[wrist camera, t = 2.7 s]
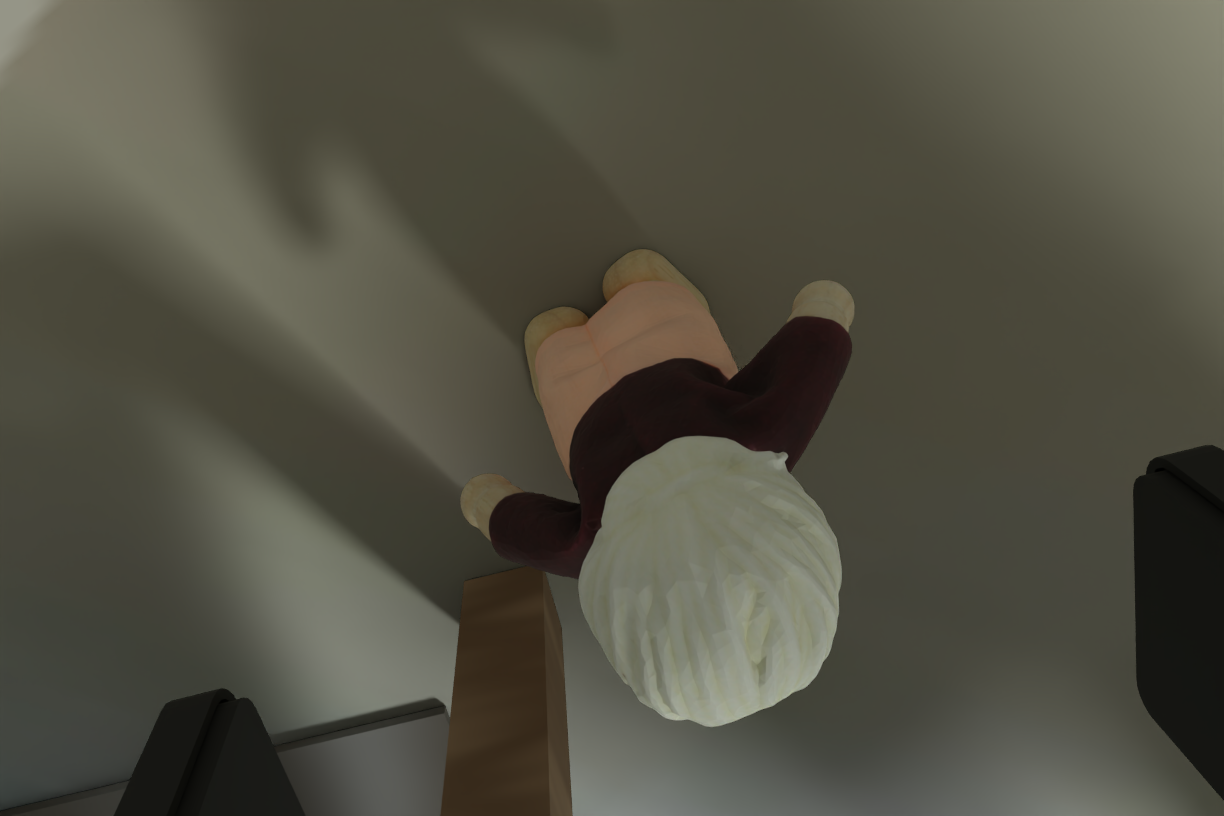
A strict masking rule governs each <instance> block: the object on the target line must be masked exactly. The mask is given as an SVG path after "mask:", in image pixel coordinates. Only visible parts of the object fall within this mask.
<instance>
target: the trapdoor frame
mask: <svg viewBox="0 0 1224 816" xmlns="http://www.w3.org/2000/svg"><path fill="white" fill-rule="evenodd" d="M274 748H275V750H276V753H277V755H278V757H279V759H280V761H281V763H282V766H283V768H284V770H285V772H286V774H287V776H288V778H289V781H290V783H291V785H292V787H293V789H294V791H295V794H296V796H297V798H298V800H299V802H300V804H301V807H302V809H303V811H304V813H305V815H306V816H573V815H572V798H571V780H570V763H569V746H568V729H567V711H566V694H565V677H564V659H563V642H562V628H561V624H560V621H559V617H558V614H557V611H556V607H555V604H554V600H553V597H552V594H551V590H550V587H549V583H548V580H547V577H546V573H545V571H540V570H537V569H534V568H532V567H529V566H526V567H522V568H517V569H513V570H509V571H505V572H501V573H496V574H492V575H488V576H484V577H480V578H475V579H471V580H467V581H464V587H463V597H462V607H461V617H460V626H459V636H458V646H457V656H456V666H455V676H454V686H453V696H452V706H451V716H450V717H449V715H448V712H447V709H446V706H442V707H438V708H434V709H430V710H426V711H421V712H417V713H413V714H409V715H404V716H400V717H396V718H392V719H388V720H383V721H379V722H375V723H371V724H366V725H362V726H358V727H354V728H350V729H345V730H341V731H337V732H333V733H328V734H324V735H320V736H316V737H312V738H307V739H303V740H299V741H295V742H290V743H286V744H282V745H278V746H274ZM128 783H129V781H126V782H122V783H117V784H113V785H109V786H105V787H100V788H96V789H92V790H88V791H84V792H79V793H75V794H71V795H67V796H62V797H58V798H54V799H50V800H46V801H41V802H37V803H33V804H29V805H24V806H20V807H16V808H12V809H8V810H3V811H0V816H114V814H115V811H116V809H117V807H118V805H119V803H120V800H121V798H122V796H123V794H124V792H125V789H126V787H127V785H128Z"/></svg>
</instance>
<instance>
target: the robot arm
mask: <svg viewBox="0 0 1224 816" xmlns="http://www.w3.org/2000/svg"><path fill="white" fill-rule="evenodd" d="M1133 506H1134V562H1135V618H1136V673H1137V686H1138V690H1139V694H1140V696H1141V699H1142V701H1143V704H1144V706H1145V707H1146V709H1147V711H1148V713H1149V714H1150V715H1151V717H1152V718H1153V719H1154V720H1155V722H1156V723H1157V724H1158V725H1159V726H1160V727H1161V728H1162V730H1163V731H1164V732H1165V733H1166V734H1167V735H1168V737H1169V738H1170V739H1171V740H1172V741H1173V742H1174V743H1175V745H1176V746H1177V747H1178V748H1179V749H1180V750H1181V752H1182V753H1183V754H1184V755H1185V756H1186V757H1187V759H1188V760H1189V761H1190V762H1191V763H1192V764H1193V765H1194V767H1195V768H1196V769H1197V770H1198V771H1199V772H1200V774H1201V775H1202V776H1203V777H1204V778H1205V779H1206V780H1207V782H1208V783H1209V784H1210V785H1211V786H1212V787H1213V789H1214V790H1215V791H1216V792H1217V793H1218V794H1219V796H1220V797H1221V798H1222V799H1223V800H1224V451H1223V450H1222V449H1220V448H1218V447H1215V446H1213V445H1205V446H1201V447H1197V448H1193V449H1189V450H1185V451H1181V452H1177V453H1173V454H1169V455H1164V456H1160V457H1156V458H1154V459H1153V460H1152V461H1150V463H1149V465H1148V467H1147V471H1146V475H1143V476H1140V477H1138V478H1137V479H1136V481H1135V483H1134V489H1133ZM114 816H306V815H305V813H304V811H303V809H302V807H301V804H300V802H299V800H298V798H297V796H296V794H295V791H294V789H293V787H292V785H291V783H290V781H289V778H288V776H287V774H286V772H285V770H284V768H283V766H282V763H281V761H280V759H279V757H278V755H277V753H276V750H275V748H274V746H273V744H272V742H271V740H270V738H269V735H268V733H267V731H266V729H265V727H264V725H263V722H262V720H261V718H260V716H259V714H258V712H257V710H256V708H255V706H254V704H253V703H252V701H251V700H249V699H248V698H240V699H236V698H235V697H234V695H233V694H232V693H231V692H230V691H229V690H227V689H223V688H222V689H217V690H213V691H209V692H205V693H201V694H197V695H193V696H189V697H185V698H181V699H177V700H173V701H170V702H169V703H167V704H166V705H165V706H164V708H163V709H162V711H161V713H160V715H159V717H158V719H157V721H156V724H155V726H154V728H153V730H152V732H151V735H150V737H149V739H148V741H147V743H146V746H145V748H144V750H143V752H142V754H141V757H140V759H139V761H138V763H137V765H136V768H135V770H134V772H133V774H132V776H131V778H130V781H129V783H128V785H127V787H126V789H125V792H124V794H123V796H122V798H121V800H120V803H119V805H118V807H117V809H116V811H115V814H114Z"/></svg>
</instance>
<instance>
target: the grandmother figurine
mask: <svg viewBox="0 0 1224 816" xmlns="http://www.w3.org/2000/svg"><path fill="white" fill-rule="evenodd" d="M603 294H604V297H605V299H606V302H607V303H606V304H605V305H604V306H603V307H602V308H601V309H600V310H599V311H598V312H596V313H595V314H594V315H593V316H592V317H591V318H590V319H589V318H588V317H587V316H586V315H585V314H584V313H583V312H581V311H580V310H578V309H575V308H572V307H564V306H563V307H557V308H554V309H551V310H548V311H545V312H543V313H541V314H539V315H537V316H536V317H535V318H534V319H533V320H531V322H530V323H529V325H528V327H527V329H526V332H525V340H524V342H525V349H526V354H527V360H528V364H529V369H530V374H531V379H532V384H533V388H534V392H535V395H536V398H537V400H538V402H539V404H540V405H541V407H542V408H543V410H544V414H545V418H546V420H547V423H548V426H549V429H550V432H551V435H552V437H553V440H554V444H555V447H556V449H557V452H558V454H559V457H560V459H561V461H562V463H563V466H564V468H565V471H566V473H567V475H568V477H569V479H570V480H571V481H573V484H574V486H575V488H576V490H577V492H578V497H579V500H580V504H577V503H572V502H568V501H563V500H560V499H556V498H553V497H549V496H546V495H544V494H535V493H530V492H524V491H523V490H521V489H520V488H518V487H515V486H513V485H512V484H511V483H510V482H509V481H508V480H507V479H505V478H504V477H502V476H500V475H497V474H481V475H478V476H476V477H473V478H472V479H471V480H470V481H469V482H468V483H467V484H466V486H465V487H464V489H463V491H462V494H461V498H460V502H461V509H462V512H463V515H464V517H465V518H466V519H467V521H468V522H469V523H470V524H471V525H473V526H475V527H477V528H478V529H480V530H481V532H482V533H483V534H484V535H485V536H486V537H487V538H488V539H489V540H490V541H491V542H492V545H493V547H494V549H495V550H496V552H497V553H498V554H499V555H500V556H502V557H504V558H506V559H508V560H510V561H512V562H516V563H520V564H523V565H526V566H529V567H532V568H534V569H537V570H540V571H545V572H549V573H552V574H555V575H559V576H564V577H571V578H575V579H579V584H578V591H579V598H580V604H581V608H582V611H583V614H584V617H585V619H586V621H587V622H588V624H589V626H590V628H591V630H592V633H593V635H594V636H595V638H596V639H597V640H598V642H599V643H600V645H601V647H602V649H603V651H604V653H605V655H606V657H607V659H608V660H609V662H610V663H611V665H612V666H613V668H614V669H615V671H616V672H617V673H618V674H619V676H620V678H621V679H622V680H623V682H624V683H625V684H627V685H629V686H631V688H632V690H633V691H634V693H635V695H636V697H637V698H638V700H639V701H640V702H641V703H643V704H644V705H646V706H648V707H650V708H652V709H654V710H655V711H657V712H658V713H659V714H660V715H661V716H663V717H665V718H667V719H671V720H687V719H689V720H692V721H694V722H696V723H699V724H701V725H703V726H707V727H715V726H720V725H724V724H727V723H730V722H734V721H736V720H739V719H741V718H743V717H746V716H748V715H751V714H753V713H755V712H757V711H759V710H761V709H765V708H768V707H771V706H774V705H775V704H776V703H778V702H779V701H781V700H783V699H784V698H786V697H788V696H789V695H790V694H791V693H793V692H796V691H799V690H802V689H804V688H805V687H807V686H808V685H809V684H810V683H811V681H812V680H813V679H814V678H815V677H816V676H817V674H818V672H819V670H820V668H821V666H822V663H823V661H824V660H825V659H826V658H827V656H828V655H829V653H830V650H831V647H832V642H833V638H834V635H835V632H836V629H837V619H838V615H839V600H838V593H839V590H840V587H841V582H842V567H841V561H840V553H839V548H838V543H837V538H836V536H835V535H834V533H833V531H832V530H831V528H830V527H829V525H828V523H827V521H826V518H825V515H824V513H823V511H822V510H821V509H820V508H819V506H818V505H817V504H816V502H815V501H814V500H813V499H812V498H811V497H810V496H808V495H807V494H806V493H805V492H804V489H803V488H802V486H801V485H800V484H799V482H798V481H797V480H795V478H794V477H793V476H792V475H791V474H790V472H791V470H792V469H793V467H794V465H795V464H796V462H797V461H798V460H799V458H800V457H801V455H802V453H803V452H804V450H805V449H806V447H807V445H808V443H809V442H810V440H811V438H812V436H813V435H814V433H815V431H816V429H817V428H818V426H819V424H820V422H821V421H822V419H823V417H824V415H825V413H826V411H827V409H828V407H829V404H830V402H831V400H832V397H833V395H834V393H835V391H836V389H837V387H838V385H839V383H840V381H841V379H842V378H843V375H844V373H845V370H846V368H847V365H848V362H849V359H850V357H851V354H852V343H851V339H850V336H849V327H850V325H851V323H852V321H853V318H854V309H855V306H854V301H853V298H852V296H851V294H850V293H849V292H848V290H847V289H846V288H844V287H843V286H842V285H840V284H839V283H837V282H834V281H831V280H820V281H815V282H812V283H810V284H808V285H806V286H805V287H804V288H803V289H802V290H801V291H800V292H799V293H798V295H797V296H796V298H795V300H794V303H793V307H792V314H791V315H790V316H789V318H788V320H787V322H786V324H785V325H784V326H783V327H782V328H781V330H780V331H779V332H778V333H777V334H776V335H775V336H773V337H772V338H771V339H770V341H769V342H768V343H767V344H766V345H765V346H764V347H763V348H762V349H761V350H760V351H759V353H758V354H757V355H756V356H755V357H754V358H753V359H752V361H751V362H750V363H749V364H748V365H746V366H745V367H744V368H743V369H742V370H740V371H739V372H738V369H737V366H736V364H735V362H734V360H733V358H732V355H731V352H730V350H729V348H728V346H727V344H726V343H725V341H724V339H723V337H722V335H721V334H720V331H719V328H718V326H717V324H716V322H715V321H714V319H713V317H712V316H711V315H710V309H709V306H708V303H707V300H706V299H705V298H704V296H703V295H702V294H701V293H700V291H699V290H698V289H697V288H696V287H695V286H694V285H693V284H692V283H691V282H690V281H689V280H688V279H686V278H685V277H684V276H683V275H682V274H681V273H680V272H679V271H678V270H677V269H676V268H675V267H674V266H673V265H672V264H671V263H670V262H669V261H668V260H667V259H666V258H664V257H663V256H662V255H660V254H659V253H657V252H655V251H652V250H648V249H637V250H634V251H631V252H629V253H627V254H625V255H624V256H622V257H621V258H620V259H619V260H617V261H616V262H615V263H614V264H613V265H612V266H611V267H610V268H609V269H608V270H607V272H606V273H605V276H604V279H603Z"/></svg>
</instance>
